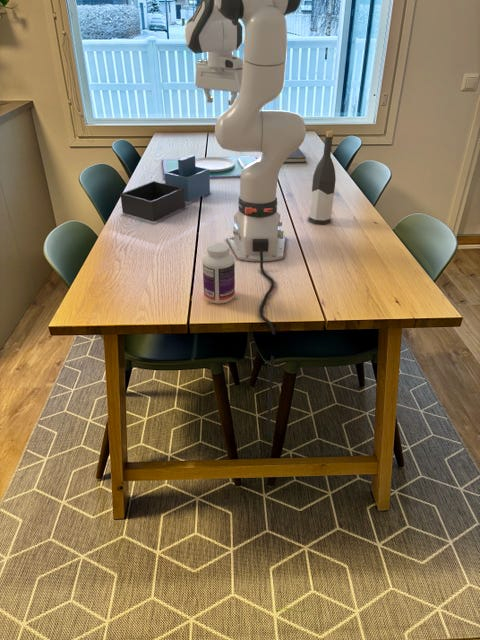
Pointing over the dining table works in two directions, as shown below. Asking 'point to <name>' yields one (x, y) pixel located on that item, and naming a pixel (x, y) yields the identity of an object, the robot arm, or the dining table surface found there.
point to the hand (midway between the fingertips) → (220, 103)
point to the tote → (153, 200)
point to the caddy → (190, 178)
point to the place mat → (216, 165)
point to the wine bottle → (323, 186)
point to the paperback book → (296, 157)
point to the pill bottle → (218, 273)
